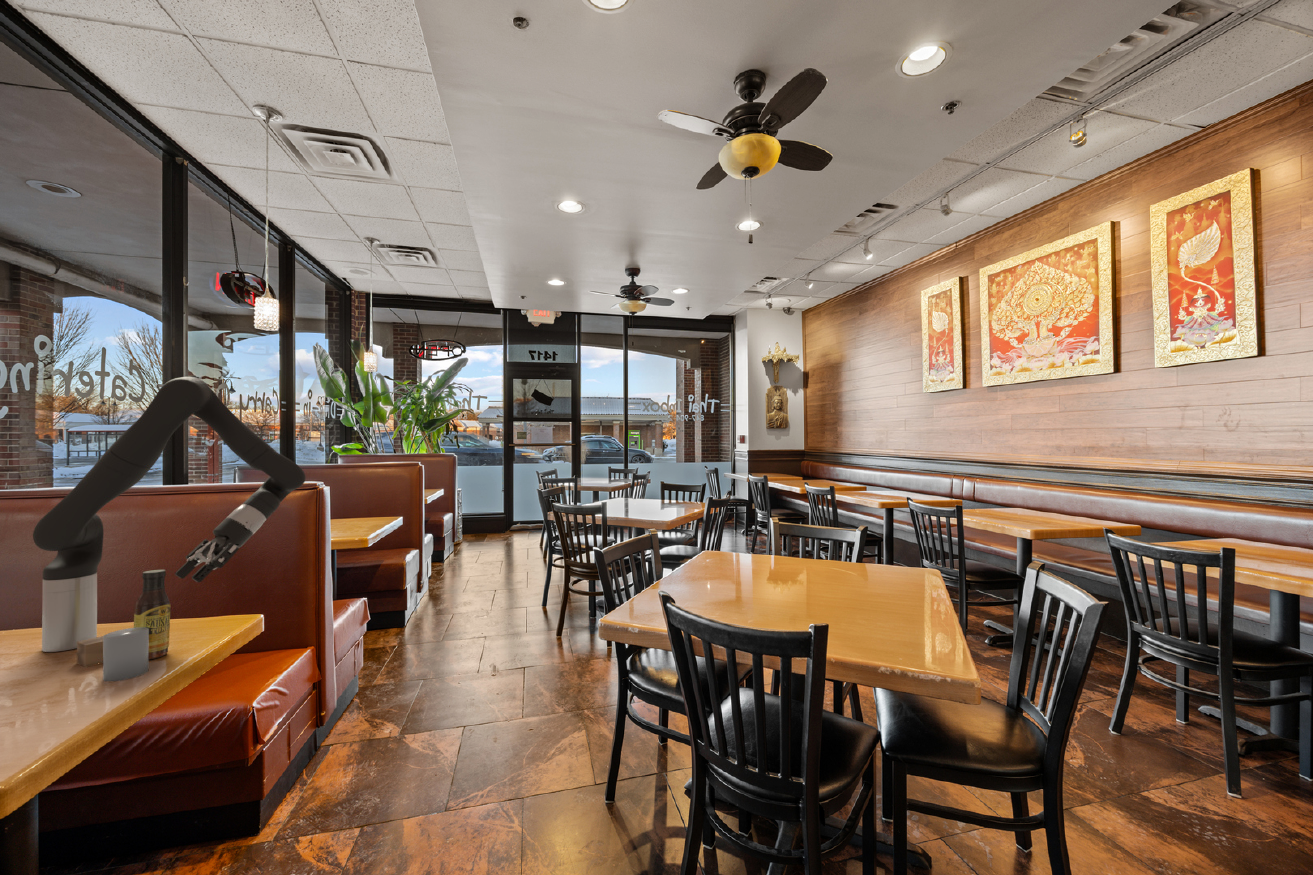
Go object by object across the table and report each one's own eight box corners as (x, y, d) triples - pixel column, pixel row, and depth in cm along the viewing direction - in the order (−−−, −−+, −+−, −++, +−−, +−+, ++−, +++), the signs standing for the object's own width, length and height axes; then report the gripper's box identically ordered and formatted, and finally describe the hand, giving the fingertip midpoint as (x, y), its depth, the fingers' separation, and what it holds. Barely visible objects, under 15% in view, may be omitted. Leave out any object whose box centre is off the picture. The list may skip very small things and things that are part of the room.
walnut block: (76, 663, 123) (77, 641, 123) (107, 656, 127) (107, 634, 127) (85, 667, 120) (85, 645, 121) (115, 659, 125) (115, 638, 125)
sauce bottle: (146, 663, 122) (147, 575, 123) (124, 661, 124) (125, 574, 124) (177, 652, 129) (177, 568, 129) (156, 650, 130) (156, 567, 130)
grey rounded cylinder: (97, 677, 115) (97, 635, 115) (140, 665, 121) (140, 625, 121) (110, 684, 112) (111, 640, 112) (154, 671, 118) (154, 629, 118)
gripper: (215, 515, 144) (159, 567, 133) (243, 518, 137) (187, 572, 127) (237, 532, 148) (185, 583, 138) (266, 535, 142) (214, 590, 131)
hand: (186, 578), depth 132 cm, fingers open, 8 cm apart
